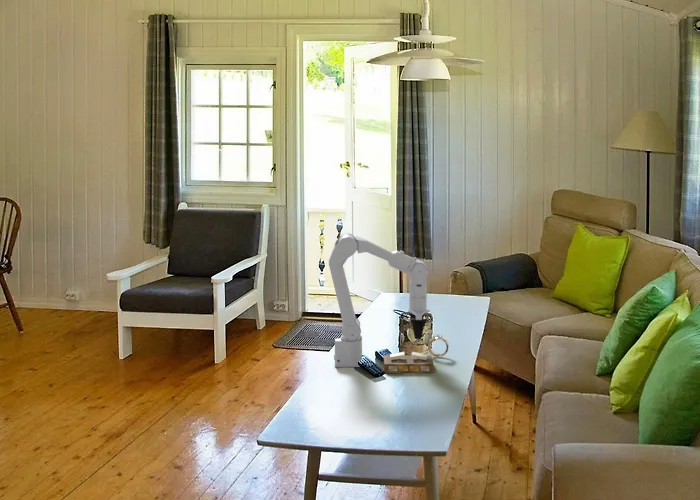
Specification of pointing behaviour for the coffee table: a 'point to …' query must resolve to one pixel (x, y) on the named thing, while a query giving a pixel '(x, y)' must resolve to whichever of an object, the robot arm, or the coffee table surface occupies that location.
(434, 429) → the coffee table surface
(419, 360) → the switch box
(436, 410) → the coffee table surface
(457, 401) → the coffee table surface
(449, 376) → the coffee table surface
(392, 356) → the block
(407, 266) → the robot arm
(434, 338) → the ring
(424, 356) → the rocker right
